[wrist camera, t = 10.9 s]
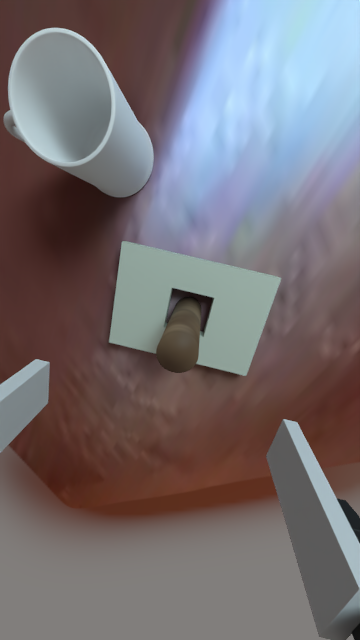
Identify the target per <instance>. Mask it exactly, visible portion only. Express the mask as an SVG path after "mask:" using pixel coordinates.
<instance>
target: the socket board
mask: <svg viewBox="0 0 360 640" xmlns="http://www.w3.org/2000/svg"><path fill="white" fill-rule="evenodd" d="M280 281H281V278H279V277H277V276H273V275H269V274H264V273H260V272H256V271H252V270H247V269H243V268H239V267H234V266H230V265H226V264H222V263H217V262H213V261H209V260H204V259H200V258H196V257H192V256H187V255H183V254H179V253H174V252H170V251H166V250H162V249H157V248H153V247H149V246H144V245H140V244H136V243H132V242H127V241H122V246H121V253H120V261H119V269H118V277H117V284H116V292H115V300H114V307H113V315H112V323H111V331H110V338H109V342H110V343H114V344H118V345H122V346H126V347H130V348H134V349H138V350H142V351H146V352H151V353H155V354H156V349H157V346H158V344H159V342H160V339H161V337H162V335H163V333H164V331H165V328H166V326H167V324H168V323H166V319H167V315H168V310H169V305H170V300H171V296H172V291H173V288H175V289H179V290H184V291H188V292H192V293H196V294H200V295H205V296H209V297H213V299H212V303H211V307H210V310H209V314H208V318H207V321H206V325H205V329H204V332H202V331H200V340H199V356H198V360H197V363H196V364H199V365H204V366H208V367H212V368H216V369H220V370H224V371H228V372H232V373H236V374H240V375H244V376H246V375H247V372H248V369H249V367H250V364H251V361H252V358H253V355H254V353H255V350H256V347H257V344H258V342H259V339H260V336H261V333H262V331H263V328H264V325H265V322H266V319H267V317H268V314H269V311H270V308H271V306H272V303H273V300H274V297H275V295H276V292H277V289H278V286H279V283H280Z"/></svg>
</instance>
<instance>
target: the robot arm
mask: <svg viewBox="0 0 360 640" xmlns="http://www.w3.org/2000/svg"><path fill="white" fill-rule="evenodd" d="M49 363H50V362H46V361H42V360H38V359H36V360H34V361H33V362H31V363H30V364H29V365H27V366H26V367H24V368H23V369H22V370H20V371H19V372H17V373H16V374H15V375H13V376H12V377H10V378H9V379H8V380H6V381H5V382H3V383H2V384H1V385H0V453H1V452H2V451H3V449H4V448H5V447H6V446H7V445H8V444H9V443H10V442H11V441H12V440H13V439H14V438H15V437H16V436H17V435H18V434H19V433H20V432H21V431H22V430H23V428H24V427H25V426H26V425H27V424H28V423H29V422H30V421H31V420H32V419H33V418H34V417H35V416H36V415H37V414H38V413H39V412H40V411H41V410H42V409H43V407H44V406H45V405H46V404H47V403H48V391H49ZM266 457H267V460H268V464H269V467H270V471H271V474H272V477H273V481H274V484H275V488H276V491H277V494H278V498H279V501H280V505H281V508H282V512H283V515H284V518H285V521H286V525H287V529H288V532H289V535H290V539H291V542H292V545H293V549H294V552H295V556H296V559H297V563H298V566H299V569H300V573H301V576H302V580H303V583H304V586H305V590H306V593H307V597H308V600H309V604H310V606H311V610H312V614H313V617H314V621H315V624H316V627H317V631H318V634H319V637H323V638H326V639H331V640H346V639H347V638H348V637H349V636H350V635H351V634H352V635H353V637H354V639H355V640H360V518H359V516H358V515H357V513H356V512H355V511H354V510H353V509H352V507H351V506H350V505H349V504H348V503H347V502H346V501H345V500H340V499H337V498H336V497H335V495H334V493H333V491H332V489H331V487H330V485H329V483H328V481H327V479H326V478H325V475H324V474H323V472H322V470H321V468H320V466H319V464H318V462H317V460H316V458H315V456H314V454H313V452H312V450H311V448H310V446H309V444H308V443H307V441H306V439H305V437H304V435H303V433H302V431H301V429H300V427H299V425H298V423H297V422H294V421H289V420H285V419H283V421H282V423H281V425H280V427H279V429H278V431H277V434H276V436H275V438H274V440H273V442H272V445H271V447H270V449H269V451H268V453H267V456H266Z"/></svg>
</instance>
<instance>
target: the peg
mask: <svg viewBox="0 0 360 640" xmlns="http://www.w3.org/2000/svg"><path fill="white" fill-rule="evenodd" d="M200 323H201V305H200V303H199V302H198V300H196V299H195V298H193V297H184V298H182V299H180V300H179V301H178V303H177V304H176V307H175V309H174V311H173V313H172V315H171V318H170V320H169V322H168V324H167V326H166V328H165V331H164V333H163V335H162V337H161V339H160V342H159V344H158V346H157V349H156V355H157V359H158V361H159V363H160V364H161V365H162V366H163V367H164V368H165V369H167V370H169V371H171V372H175V373H182V372H186V371H188V370H190V369H191V368H193V367H194V366H195V364H196V363H197V360H198V356H199V340H200Z"/></svg>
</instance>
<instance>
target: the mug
mask: <svg viewBox="0 0 360 640" xmlns="http://www.w3.org/2000/svg"><path fill="white" fill-rule="evenodd" d="M8 98H9V105H10V110H9V111H8V112H6V113H5V115H4V124H5V127H6V129H7V130H8V131H9V132H10V133H11V134H12V135H13V136H14V137H16V138H18V139H19V140H21V141H23V142H25V143H26V144H27V145H28V146H29V148H30V149H31V150H32V151H33V152H34V153H35V154H37V155H38V156H39V157H41V158H42V159H43V160H45V161H47V162H49V163H51V164H53V165H55V166H56V167H58V168H60V169H62V170H64V171H66V172H68V173H70V174H72V175H74V176H76V177H78V178H80V179H82V180H84V181H86V182H88V183H90V184H92V185H94V186H96V187H97V188H98V189H99V190H101V191H102V192H104V193H105V194H107V195H110V196H113V197H128V196H131V195H133V194H135V193H137V192H138V191H139V190H140V189H142V188H143V186H144V185H145V184H146V182H147V181H148V179H149V177H150V175H151V172H152V168H153V160H154V156H153V147H152V143H151V140H150V138H149V136H148V134H147V132H146V130H145V129H144V127H143V126H142V125H141V124H140V123H139V122H138V120H137V119H136V117H135V115H134V113H133V111H132V110H131V108H130V106H129V104H128V103H127V101H126V99H125V97H124V95H123V94H122V92H121V90H120V88H119V86H118V85H117V83H116V81H115V79H114V78H113V76H112V74H111V72H110V70H109V69H108V67H107V65H106V63H105V62H104V60H103V58H102V57H101V55H100V54H99V53H98V51H97V50H96V49H95V48H94V47H93V45H92V44H91V43H89V42H88V41H87V40H86V39H85V38H83V37H82V36H80V35H79V34H77V33H75V32H73V31H70V30H67V29H62V28H49V29H44V30H41V31H39V32H37V33H35V34H33V35H32V36H31V37H29V38H28V39H27V40H26V41H25V42H24V43H23V44H22V46H21V47H20V48H19V50H18V52H17V53H16V55H15V57H14V60H13V62H12V66H11V69H10V74H9V81H8ZM14 125H16V127H17V128H16V127H15V126H14Z"/></svg>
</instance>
